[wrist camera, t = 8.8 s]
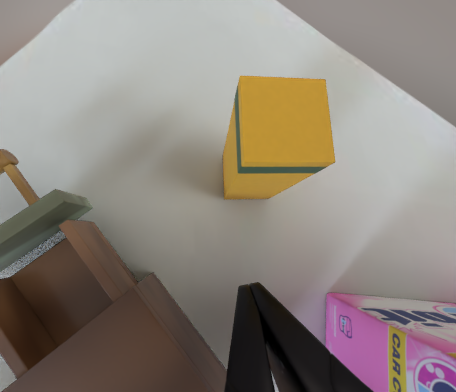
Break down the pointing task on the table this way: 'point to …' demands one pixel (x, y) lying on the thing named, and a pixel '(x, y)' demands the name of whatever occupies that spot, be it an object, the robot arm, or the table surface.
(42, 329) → the drawer
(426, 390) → the gum box
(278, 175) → the crayon box
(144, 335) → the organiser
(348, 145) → the table surface
